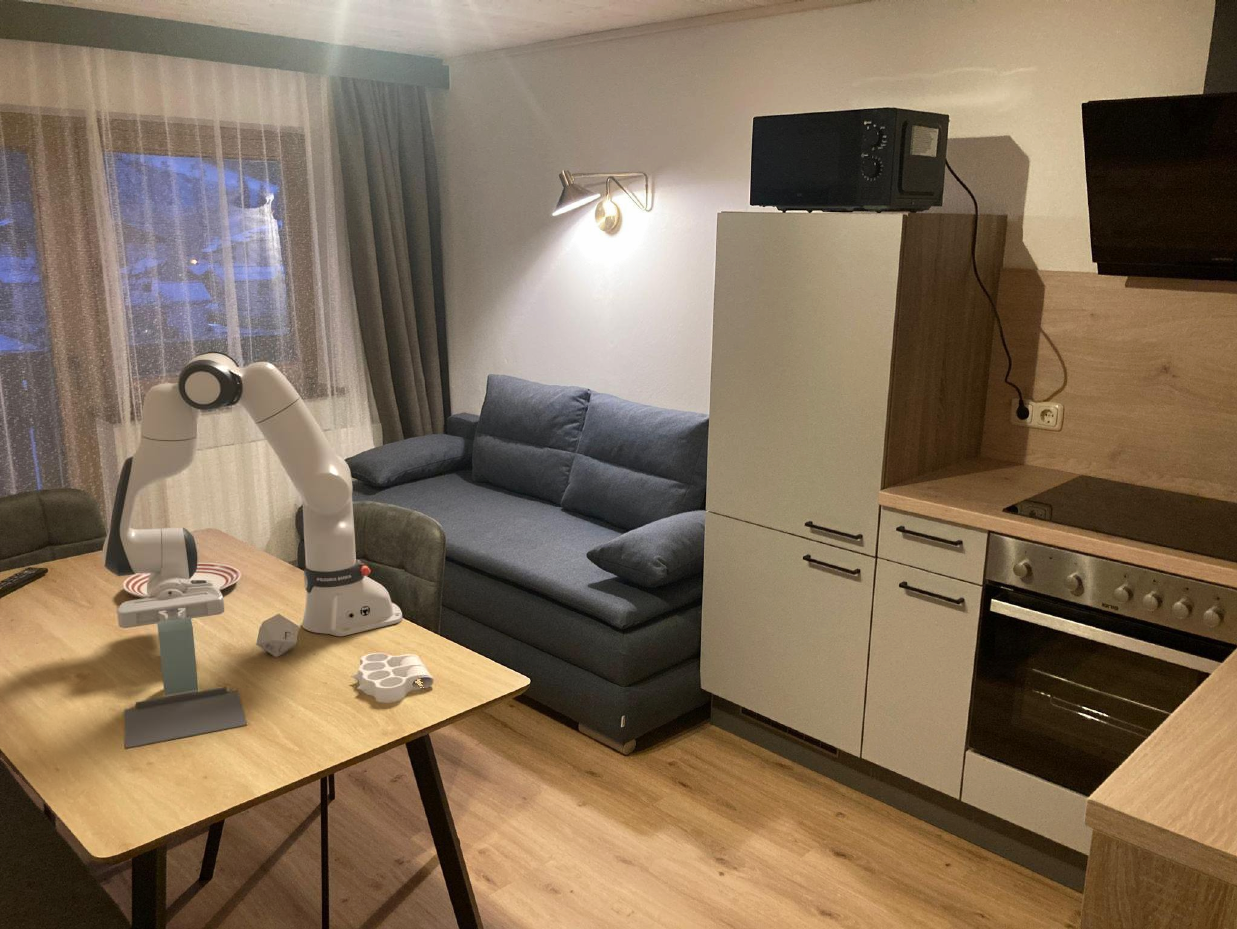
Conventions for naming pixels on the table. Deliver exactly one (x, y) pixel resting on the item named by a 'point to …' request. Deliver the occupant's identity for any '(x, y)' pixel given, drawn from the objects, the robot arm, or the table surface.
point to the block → (177, 656)
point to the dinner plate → (205, 571)
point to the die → (277, 635)
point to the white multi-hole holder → (391, 676)
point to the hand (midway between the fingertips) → (173, 621)
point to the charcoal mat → (183, 716)
